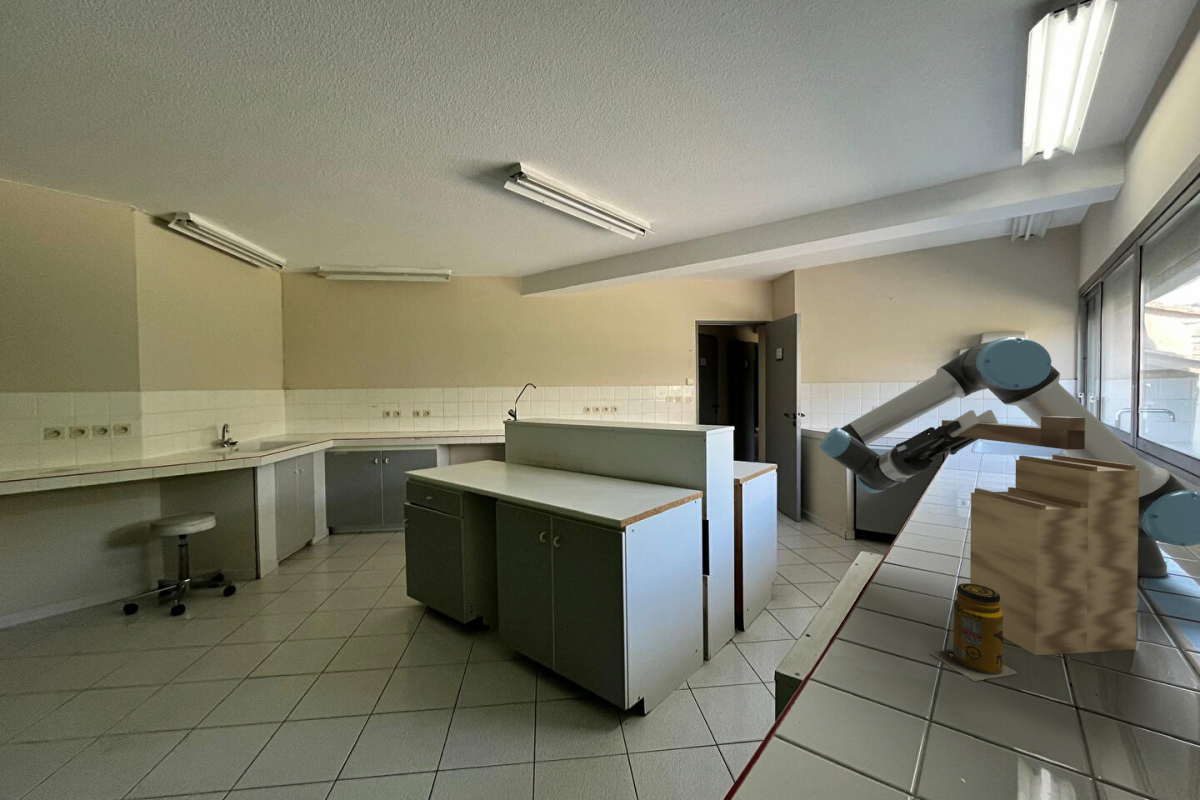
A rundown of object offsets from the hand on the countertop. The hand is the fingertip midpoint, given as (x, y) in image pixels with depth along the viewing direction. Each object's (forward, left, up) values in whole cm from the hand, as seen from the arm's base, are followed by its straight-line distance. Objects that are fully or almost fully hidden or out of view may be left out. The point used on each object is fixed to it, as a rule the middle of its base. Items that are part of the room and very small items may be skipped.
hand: (983, 416), depth 86 cm
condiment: (+16, +15, -39) cm, 44 cm away
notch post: (-5, +8, -38) cm, 39 cm away
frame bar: (0, +4, -4) cm, 6 cm away
